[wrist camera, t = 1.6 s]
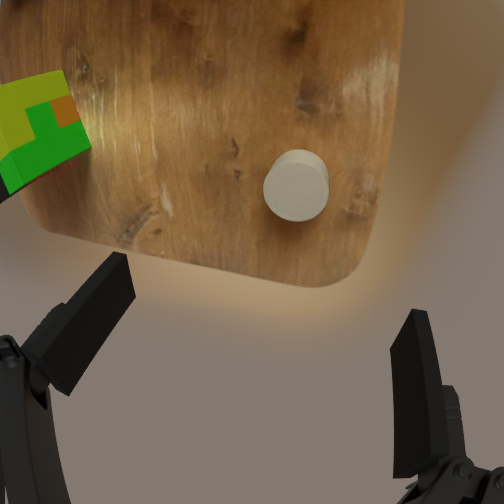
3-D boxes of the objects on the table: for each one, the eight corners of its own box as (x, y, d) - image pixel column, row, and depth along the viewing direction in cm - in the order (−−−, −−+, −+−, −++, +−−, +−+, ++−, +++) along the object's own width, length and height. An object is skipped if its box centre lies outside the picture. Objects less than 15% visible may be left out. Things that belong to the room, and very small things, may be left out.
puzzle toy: (19, 109, 27) (-41, 135, 19) (62, 69, 24) (-11, 88, 16) (45, 174, 32) (-11, 211, 24) (91, 146, 29) (23, 184, 21)
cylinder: (333, 154, 24) (333, 167, 21) (323, 207, 27) (322, 226, 24) (273, 145, 25) (265, 156, 22) (268, 198, 28) (260, 216, 25)
